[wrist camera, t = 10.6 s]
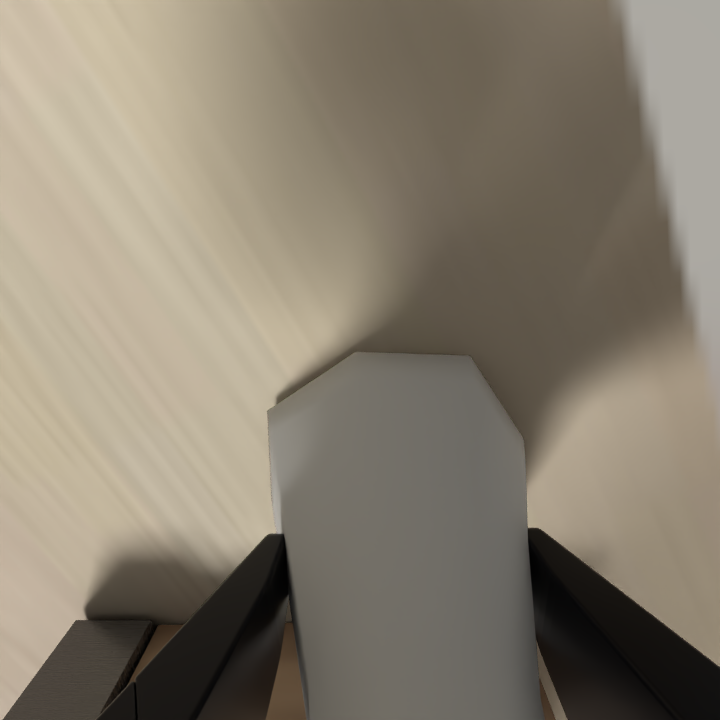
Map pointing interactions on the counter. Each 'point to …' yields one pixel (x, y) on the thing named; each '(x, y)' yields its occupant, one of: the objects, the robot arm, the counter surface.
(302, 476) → the flask
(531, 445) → the counter surface
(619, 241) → the counter surface
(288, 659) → the tan square panel
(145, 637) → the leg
